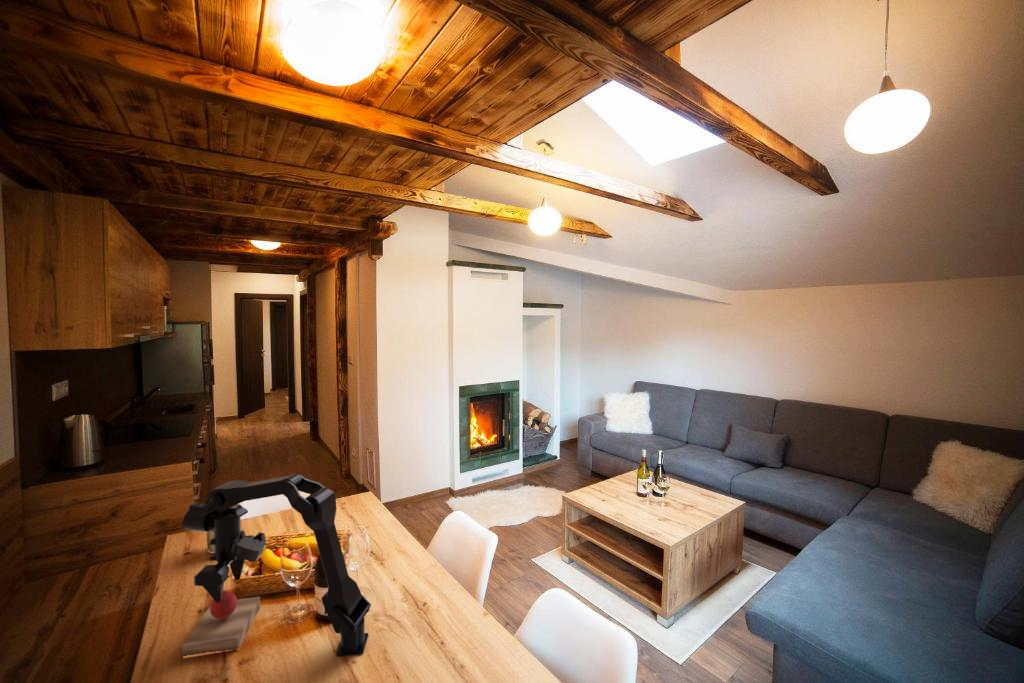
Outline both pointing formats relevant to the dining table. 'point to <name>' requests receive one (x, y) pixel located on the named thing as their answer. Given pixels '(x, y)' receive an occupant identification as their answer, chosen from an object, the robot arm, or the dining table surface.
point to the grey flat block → (222, 629)
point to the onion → (224, 605)
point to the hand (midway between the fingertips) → (228, 590)
